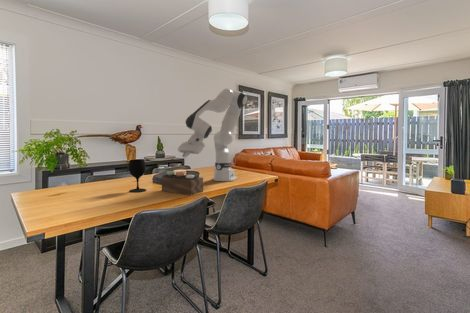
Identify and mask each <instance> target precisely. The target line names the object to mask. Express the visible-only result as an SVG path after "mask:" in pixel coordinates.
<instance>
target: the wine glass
mask: <svg viewBox="0 0 470 313" xmlns="http://www.w3.org/2000/svg"><path fill="white" fill-rule="evenodd" d="M146 169H147V165H146V161H145V159H143V158H141V159H139V158H137V159H130V160H129V162H128V172H129V174H130V175H131V176H132V177H133V178H135V179H136V180H135V181H136V188H132V189H129V192H130V193H133V194H134V193H143V192H146V191H147V189H146V188H140V186H139V180H140V178H141V177H143V176H144V174H145V172H146Z"/></svg>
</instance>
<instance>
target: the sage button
mask: <svg viewBox="0 0 470 313" xmlns="http://www.w3.org/2000/svg"><path fill="white" fill-rule="evenodd" d="M166 175H176V173H175V171H174V170H167V171H166Z"/></svg>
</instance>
